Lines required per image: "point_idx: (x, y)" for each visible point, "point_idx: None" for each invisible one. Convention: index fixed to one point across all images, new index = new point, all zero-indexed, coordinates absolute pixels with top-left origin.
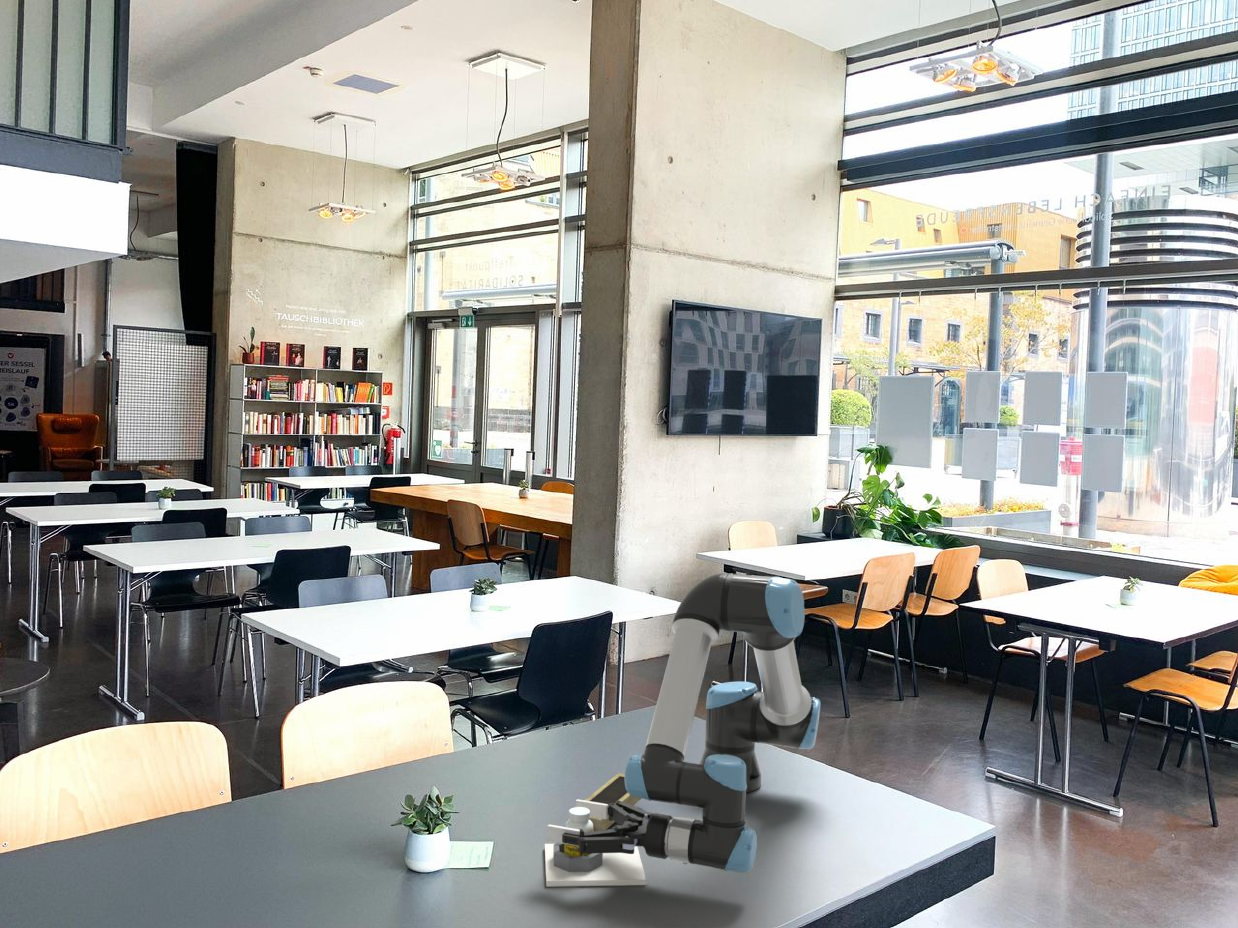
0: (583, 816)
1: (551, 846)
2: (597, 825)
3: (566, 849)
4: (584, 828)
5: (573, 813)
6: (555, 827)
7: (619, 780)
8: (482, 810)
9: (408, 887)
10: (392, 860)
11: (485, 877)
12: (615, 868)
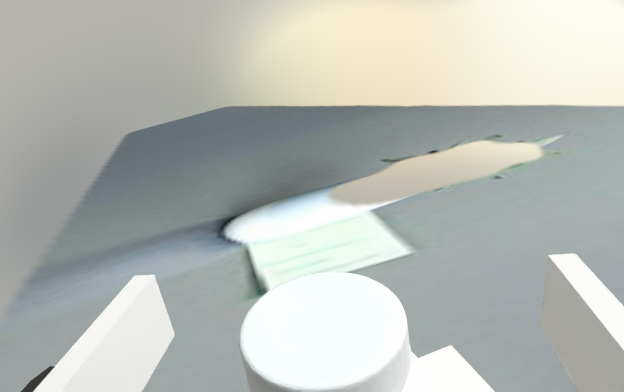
0: (250, 378)
1: (444, 371)
2: None
3: None
4: None
5: (261, 307)
6: (107, 307)
7: None
8: (545, 191)
9: (159, 239)
10: (261, 197)
11: (206, 309)
12: None
